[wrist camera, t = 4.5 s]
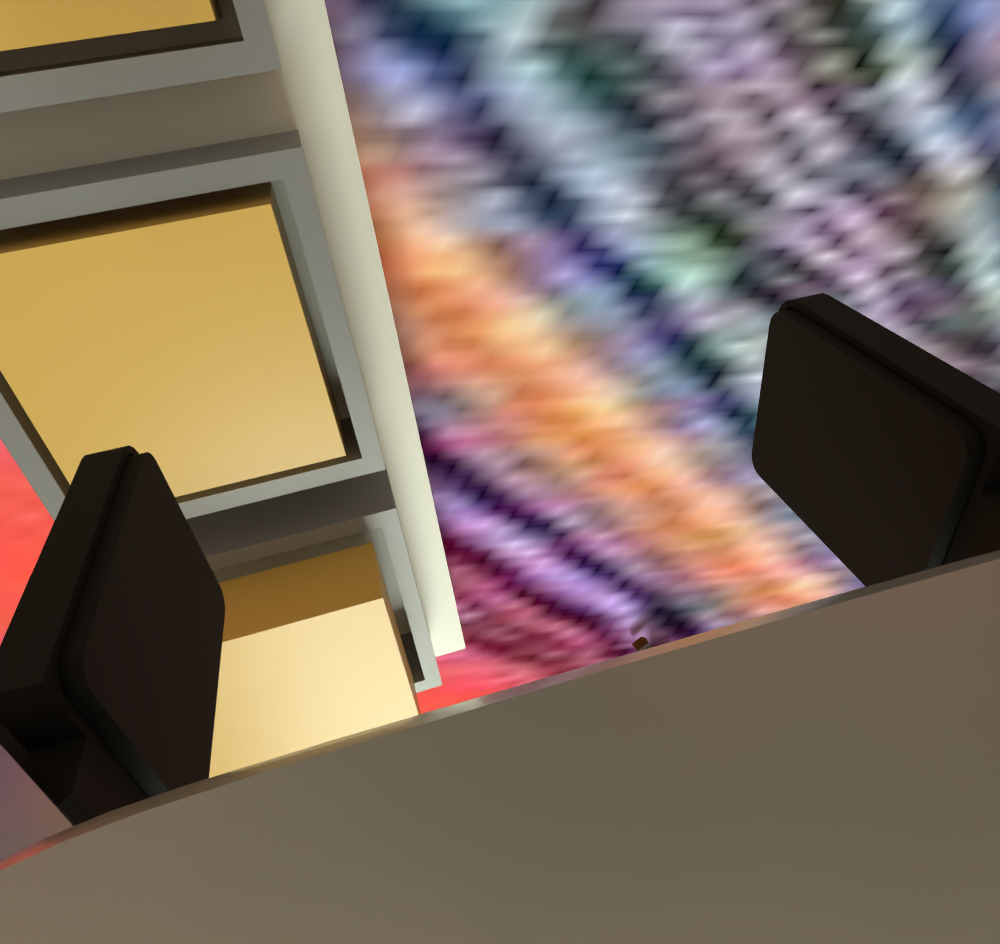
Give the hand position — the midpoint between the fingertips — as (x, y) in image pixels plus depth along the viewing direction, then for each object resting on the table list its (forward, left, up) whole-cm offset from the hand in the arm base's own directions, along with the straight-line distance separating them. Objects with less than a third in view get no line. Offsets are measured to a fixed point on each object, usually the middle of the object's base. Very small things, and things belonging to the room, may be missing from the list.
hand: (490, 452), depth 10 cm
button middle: (+5, 0, -8) cm, 10 cm away
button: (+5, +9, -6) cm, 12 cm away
